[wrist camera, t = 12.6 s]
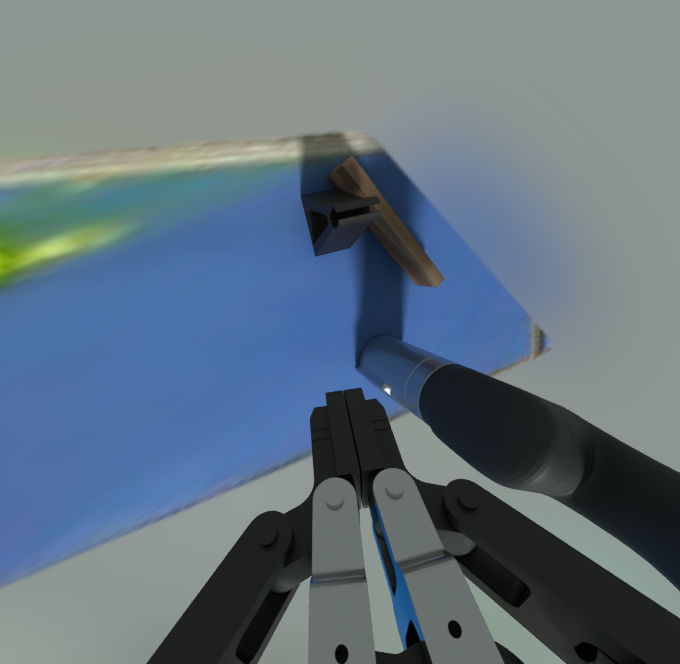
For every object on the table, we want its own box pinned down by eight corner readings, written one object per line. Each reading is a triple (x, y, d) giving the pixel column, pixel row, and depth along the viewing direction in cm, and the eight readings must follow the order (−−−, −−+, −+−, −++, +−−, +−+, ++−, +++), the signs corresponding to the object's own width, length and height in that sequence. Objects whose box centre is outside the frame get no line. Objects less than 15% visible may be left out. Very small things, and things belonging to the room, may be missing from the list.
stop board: (415, 284, 55) (437, 287, 50) (326, 177, 45) (342, 165, 40) (421, 276, 56) (444, 278, 50) (335, 167, 45) (352, 154, 40)
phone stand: (348, 248, 49) (387, 243, 38) (315, 256, 47) (345, 254, 36) (337, 189, 46) (375, 166, 35) (300, 195, 44) (329, 173, 34)
